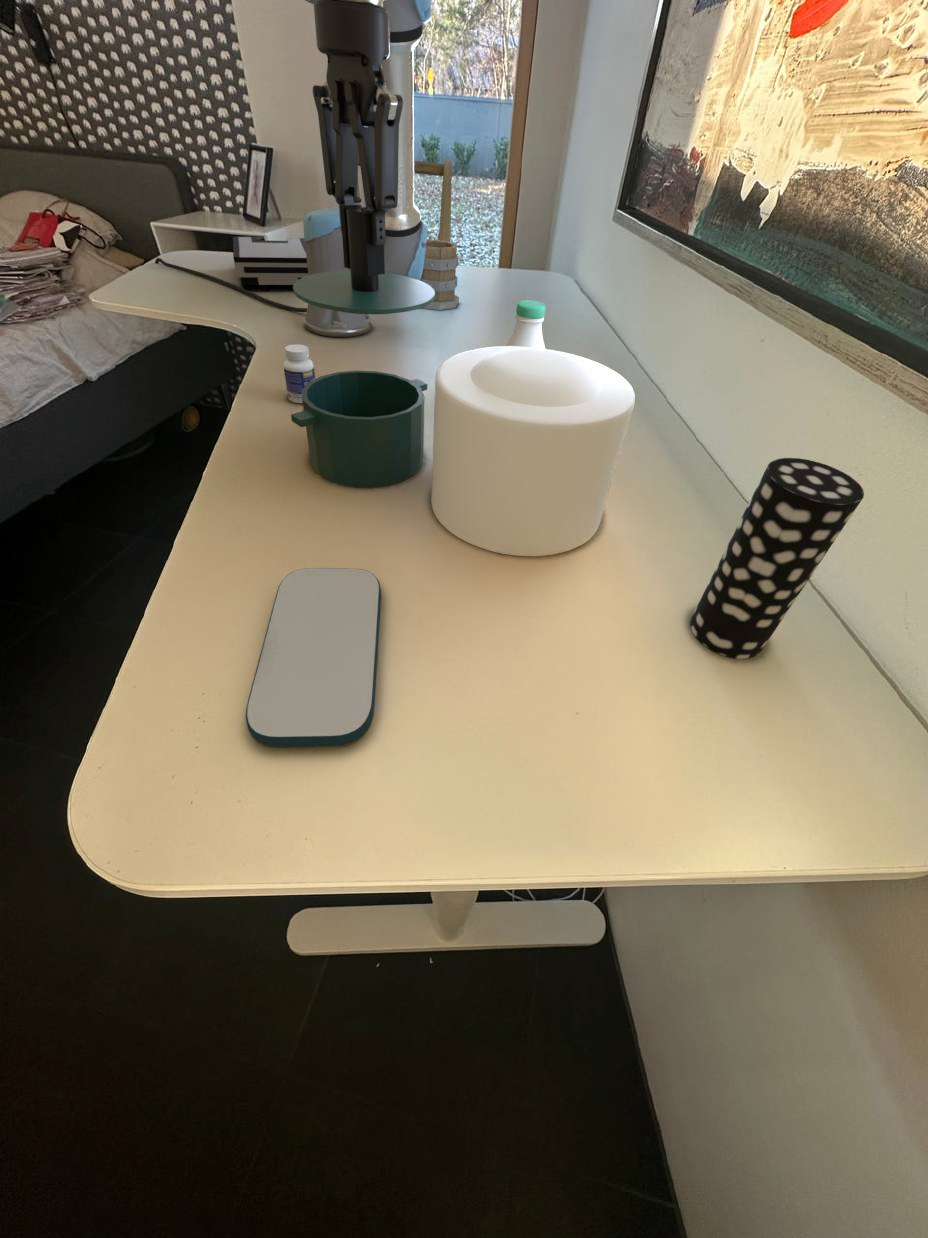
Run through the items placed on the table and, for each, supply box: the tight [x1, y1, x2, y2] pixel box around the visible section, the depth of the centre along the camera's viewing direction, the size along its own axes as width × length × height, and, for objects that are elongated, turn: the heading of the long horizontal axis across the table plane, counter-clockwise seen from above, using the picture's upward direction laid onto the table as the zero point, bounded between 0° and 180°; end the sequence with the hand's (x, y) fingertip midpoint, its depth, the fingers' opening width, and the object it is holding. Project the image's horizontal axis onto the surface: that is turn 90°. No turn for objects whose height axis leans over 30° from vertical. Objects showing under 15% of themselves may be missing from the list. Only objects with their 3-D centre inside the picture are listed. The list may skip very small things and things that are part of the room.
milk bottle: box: [505, 299, 547, 349], centre depth 93 cm, size 8×8×20 cm
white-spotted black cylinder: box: [689, 457, 865, 660], centre depth 57 cm, size 8×8×20 cm
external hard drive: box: [245, 567, 382, 748], centre depth 57 cm, size 24×12×2 cm, turn 4°
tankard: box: [420, 239, 460, 311], centre depth 148 cm, size 20×13×15 cm, turn 80°
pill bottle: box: [283, 343, 316, 404], centre depth 99 cm, size 5×5×9 cm
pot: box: [290, 370, 428, 489], centre depth 84 cm, size 18×23×10 cm
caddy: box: [354, 155, 453, 243], centre depth 160 cm, size 29×11×30 cm, turn 77°
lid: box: [292, 206, 435, 315], centre depth 70 cm, size 19×19×10 cm
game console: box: [232, 236, 309, 291], centre depth 158 cm, size 21×32×8 cm, turn 17°
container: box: [430, 345, 636, 557], centre depth 74 cm, size 25×25×20 cm
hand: (364, 269), depth 71 cm, fingers closed on lid, 4 cm apart
